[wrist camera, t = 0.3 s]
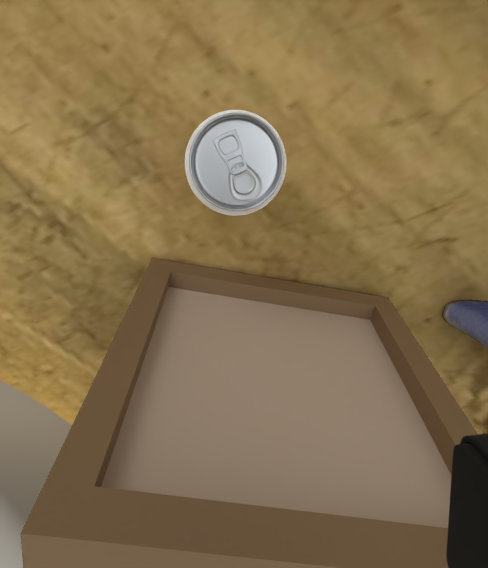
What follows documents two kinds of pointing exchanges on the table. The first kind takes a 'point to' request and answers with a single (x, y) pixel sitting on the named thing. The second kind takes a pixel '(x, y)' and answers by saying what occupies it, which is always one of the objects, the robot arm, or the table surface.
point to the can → (235, 162)
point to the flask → (469, 318)
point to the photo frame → (253, 435)
